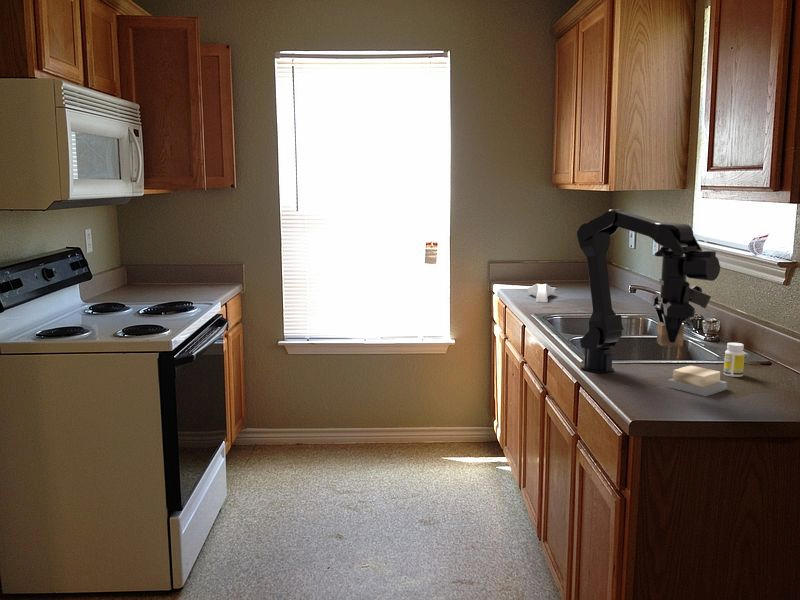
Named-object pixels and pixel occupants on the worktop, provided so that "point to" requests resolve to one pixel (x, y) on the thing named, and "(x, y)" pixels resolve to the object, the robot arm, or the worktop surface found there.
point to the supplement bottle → (734, 360)
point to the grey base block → (698, 387)
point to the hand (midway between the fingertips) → (669, 339)
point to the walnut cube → (664, 339)
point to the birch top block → (696, 375)
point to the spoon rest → (541, 292)
